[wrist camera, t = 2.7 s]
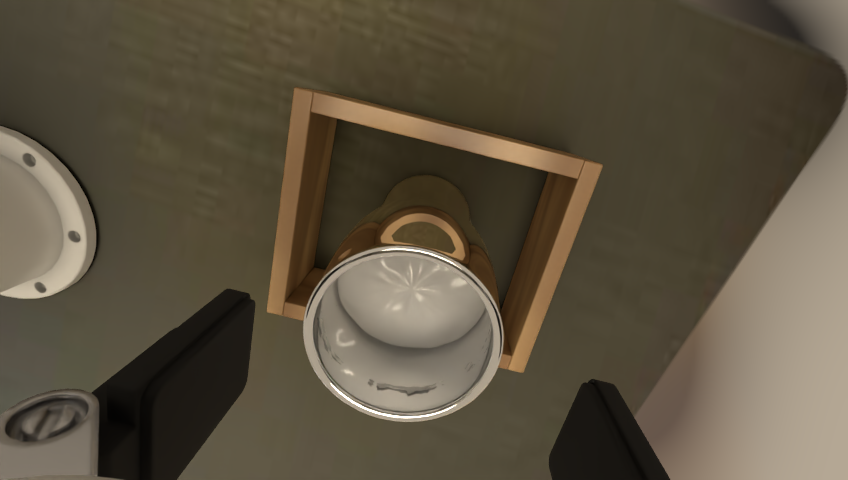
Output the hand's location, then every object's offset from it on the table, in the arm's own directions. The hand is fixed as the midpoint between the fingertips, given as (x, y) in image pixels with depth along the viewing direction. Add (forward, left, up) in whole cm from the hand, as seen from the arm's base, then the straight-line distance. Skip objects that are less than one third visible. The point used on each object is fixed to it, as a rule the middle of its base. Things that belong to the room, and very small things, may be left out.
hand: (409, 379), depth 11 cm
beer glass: (0, 0, -17) cm, 17 cm away
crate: (0, 0, -17) cm, 17 cm away
